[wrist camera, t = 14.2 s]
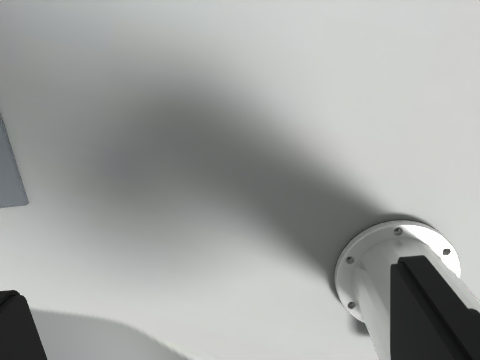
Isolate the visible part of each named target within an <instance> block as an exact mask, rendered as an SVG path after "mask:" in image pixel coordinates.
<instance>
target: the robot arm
mask: <svg viewBox="0 0 480 360" xmlns="http://www.w3.org/2000/svg"><path fill="white" fill-rule="evenodd" d="M396 228H397V229H396ZM334 280H335V286H336V291H337V293H338V296H339V299H340V301H341V303H342V304H343V306H344V307H345V309H346V310H347V311H348V312H349V313H350V314H351V315H352V316H354V317H355V318H356V319H358V320H359V321H361V322H363V323H365V324H366V327H367V330H368V332H369V335H370V337H371V340H372V342H373V345H374V347H375V350H376V352H377V355H378V357H379V360H480V300H479V299H478V298H477V297H476V296H475V295H474V294H473V293H472V291H471V290H470V289H469V288H468V287H467V286H466V285H465V283H464V282H463V281H462V280H461V279H460V262H459V259H458V255H457V253H456V251H455V249H454V248H453V246H452V245H451V243H450V242H449V241H448V240H447V239H446V238H445V237H444V236H443V235H442V234H440V233H439V232H438V231H437V230H435V229H433V228H432V227H430V226H428V225H425V224H422V223H419V222H415V221H407V220H398V221H389V222H384V223H380V224H377V225H375V226H372V227H370V228H368V229H366V230H365V231H363V232H361V233H360V234H358V235H357V236H356V237H355V238H354V239H352V240H351V241H350V242H349V243H348V245H347V246H346V247H345V248H344V250H343V251H342V253H341V255H340V257H339V259H338V261H337V265H336V268H335V278H334ZM0 360H47V357H46V354H45V352H44V349H43V346H42V343H41V341H40V337H39V334H38V332H37V329H36V326H35V323H34V320H33V318H32V315H31V312H30V309H29V306H28V303H27V300H26V298H25V297H24V296H22V295H20V293H18V292H17V291H15V290H9V291H0Z"/></svg>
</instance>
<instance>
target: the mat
mask: <svg viewBox="0 0 480 360" xmlns="http://www.w3.org/2000/svg"><path fill="white" fill-rule="evenodd" d="M28 203H29V202H28V199H27V196H26V193H25V190H24V187H23V184H22V180H21V177H20V174H19V171H18V168H17V165H16V162H15V159H14V155H13V152H12V149H11V146H10V143H9V140H8V137H7V133H6V130H5V127H4V124H3V121H2V118H1V115H0V208H4V207H14V206H23V205H27V204H28Z"/></svg>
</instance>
